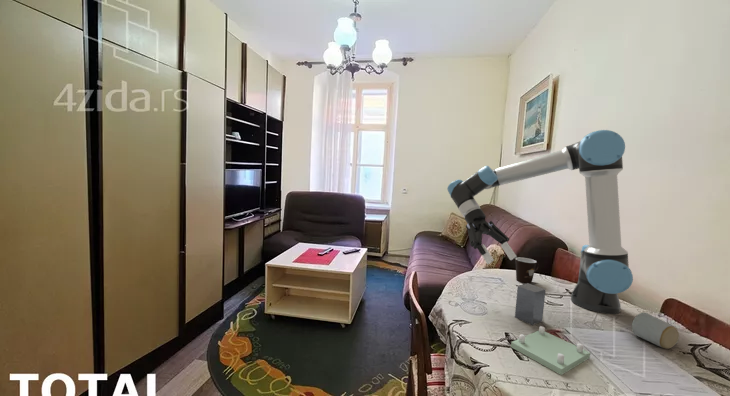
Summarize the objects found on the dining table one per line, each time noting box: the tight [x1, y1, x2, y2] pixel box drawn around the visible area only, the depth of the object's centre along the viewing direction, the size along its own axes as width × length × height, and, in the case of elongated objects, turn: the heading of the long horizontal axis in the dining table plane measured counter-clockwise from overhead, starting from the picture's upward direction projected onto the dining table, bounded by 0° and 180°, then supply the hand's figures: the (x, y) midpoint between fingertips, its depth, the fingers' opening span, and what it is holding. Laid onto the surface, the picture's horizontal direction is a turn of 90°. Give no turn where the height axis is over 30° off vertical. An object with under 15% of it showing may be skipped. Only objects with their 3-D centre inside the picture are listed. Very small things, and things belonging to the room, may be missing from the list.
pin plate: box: [510, 325, 591, 376], centre depth 81 cm, size 15×13×4 cm
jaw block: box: [514, 283, 547, 326], centre depth 100 cm, size 6×6×11 cm
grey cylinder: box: [631, 312, 680, 350], centre depth 90 cm, size 11×8×8 cm
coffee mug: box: [515, 257, 540, 284], centre depth 138 cm, size 12×9×10 cm
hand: (502, 260), depth 109 cm, fingers open, 13 cm apart
